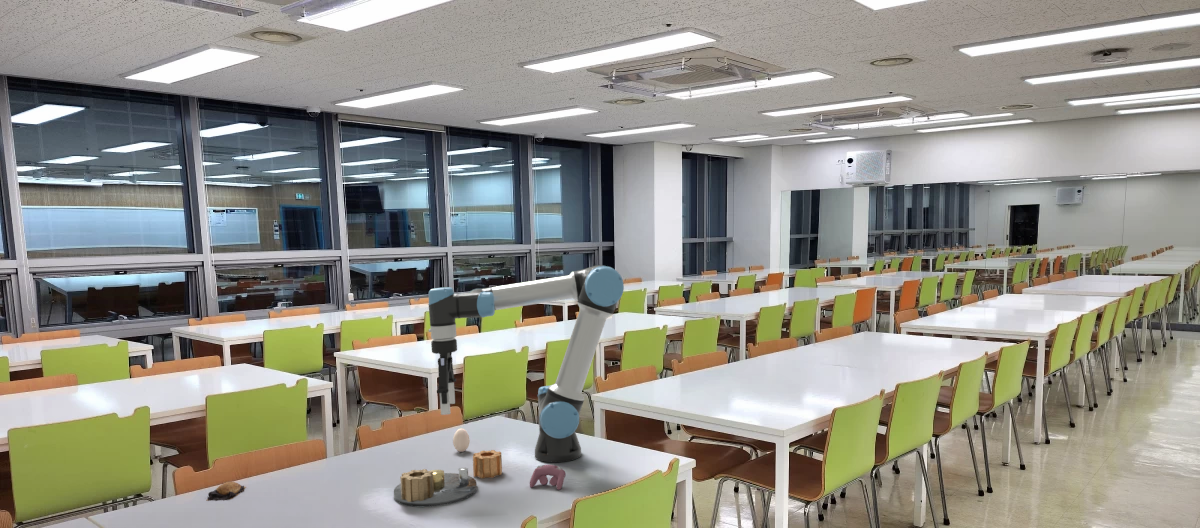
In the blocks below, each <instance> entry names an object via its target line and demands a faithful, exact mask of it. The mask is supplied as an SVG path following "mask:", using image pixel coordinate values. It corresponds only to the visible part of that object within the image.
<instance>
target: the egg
mask: <svg viewBox="0 0 1200 528" xmlns="http://www.w3.org/2000/svg"><path fill="white" fill-rule="evenodd" d="M470 441H471V439H470V436H469V433H468V431H467V430H466V429H464V428H458V429H457V430H456V431H455V432H454V434H453V438H452V443H453V447H454V449H455V450H456V451H457V452H460V453H464V452H465V451H467V450H468V449H469V446H470V443H471V442H470Z"/></svg>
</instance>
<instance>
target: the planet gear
mask: <svg viewBox="0 0 1200 528" xmlns="http://www.w3.org/2000/svg"><path fill="white" fill-rule="evenodd" d="M502 458H503V457H502V451H496V449H491V450H481V451H479V452H474V453H473V454H472V471H473V472H472V475H473V478H474V477H475V478H476V477H477V478H479V479H485V478H490V479H493V478H495V477H497V476H501V475H503V463H502Z"/></svg>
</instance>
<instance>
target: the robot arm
mask: <svg viewBox="0 0 1200 528" xmlns="http://www.w3.org/2000/svg"><path fill="white" fill-rule="evenodd" d="M624 289H625V288H624V280H623V278H622V276H621V274H620V273H619V272H618V270H616V269H615V268H613V267H611V266H608V265H607V266H606V265H602V264H598V265H593V266H590V267H587V268H583V269H579V270H574V271H571V272H570V273H569V275H568V274H567V275H562V276H556V277H548V278H541V279H536V280H530V281H523V282H516V283H509V284H504V285H497V286H492V287H485V288H481V287H480V288H474V289H472V290H470V291H468V292H461V293H455V291H454V288H453V287H435V288H431V289H430V290H429V291H428V304H427V305H428V314H429V315H428V316H429V325H430V328H428V333H430V338H431V340H432V341H431V343H430V344H431V353H432V354H435V355H436V354H437V355H438V354H439V358H438V359H437V365H438V369H437V370H438V389H437V390H436V394H439V403H440V404H439V405H440V406H439V407H440V415H441V416H444V415H445V416H446V415H451V405H453V404H454V405H455V404H456V394H455V383H456V382H457V378H456V377H455V374H454V366H453V365H454V364H453V357H452V353H455V352H457V350H458V343H457V342H458V340H457V339H456V337H457V324H456V319H467V318H468V319H469V318H471V319H472V318H485V317H493V316H494V315H495V311H498V310H506V309H513V308H518V307H524V306H532V305H537V304H544V303H550V302H556V301H565V300H569V299H573V300H575V301H577V302H576V303H577V306H578V307H579V311H578V315H577V317H576V320H575V323H574V327H573V329H572V333H571V335H570V339H569V340H568V341H569V342H568V343H567V347H566V350H565V353H564V356H563V359H562V362H561V365H560V368H559V371H558V374H557V378H556V380H555V383H553V384H551V385H544V386H540V387H539V388H538V391H537V393H538V394H537V400H538V403H537V404H538V426H539V427H538V428H539V429H538V430H539V432H538V433H539V434H538V436H537V437H538V438H537V440H536V444H535V447H534V458H535V459H536V460H538V461H541V462H545V463H565V462H569V461H570V462H571V461H574V460H576V459H578V458H580V457H581V456H582V447H581V445H580V442H579V439H578V438H579V437H578V435H577V433H576V430H577V429H578V426H579V424H580V413H581V410H582V408H583V404H584V401H585V397H584V394H583V392H582V391H583V389H584V386H585V383H586V380H587V377H588V374H589V371H590V368H591V366H592V362H593V359H594V356H595V354H596V351H597V348H598V345H599V341H600V338H601V336H602V333H603V330H604V327H605V324H606V321H607V319H608V318H609V317H612V316H613V315H614V313H615V310H616V307H617V303H618V302H619V300H621V297H622V296H623V293H624V291H625V290H624Z"/></svg>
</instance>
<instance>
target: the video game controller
mask: <svg viewBox="0 0 1200 528" xmlns="http://www.w3.org/2000/svg"><path fill="white" fill-rule="evenodd" d="M547 476H550V477H551V478H550V479H548V477H547ZM530 477H531V478H530V479H529V487H530V488H531V489H532V488H534V487H535V486H536V485H537V483H538V481H539V483H540V484H541V485H543V486H546V485H547V484H548V483H549V484H550V485H551V486H553V487H556V489H557V491H560V490H561V489H562V488H563V485H564V482H565V478H566V471H565V469H563V468H561V467H560V466H558V465H555V464H543V465H538V466H537V467H536V468H534V470H533V472H532V475H531V476H530Z"/></svg>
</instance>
